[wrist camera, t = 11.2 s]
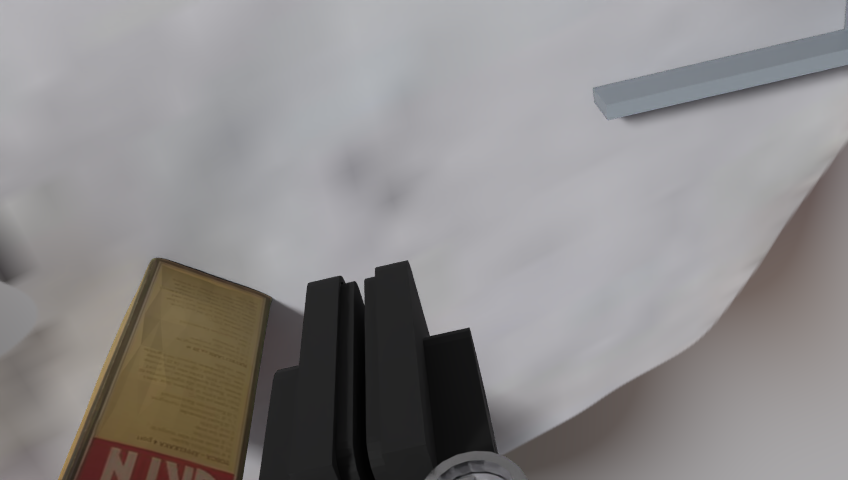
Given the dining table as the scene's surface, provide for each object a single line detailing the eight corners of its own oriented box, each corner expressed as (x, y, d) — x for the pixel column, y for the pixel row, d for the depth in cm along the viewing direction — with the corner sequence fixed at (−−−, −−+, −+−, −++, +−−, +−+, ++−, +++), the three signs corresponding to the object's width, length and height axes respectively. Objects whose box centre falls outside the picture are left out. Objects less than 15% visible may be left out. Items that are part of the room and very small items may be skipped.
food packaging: (217, 420, 60) (141, 769, 39) (98, 385, 57) (-54, 741, 36) (278, 296, 54) (227, 627, 33) (149, 251, 52) (3, 581, 30)
